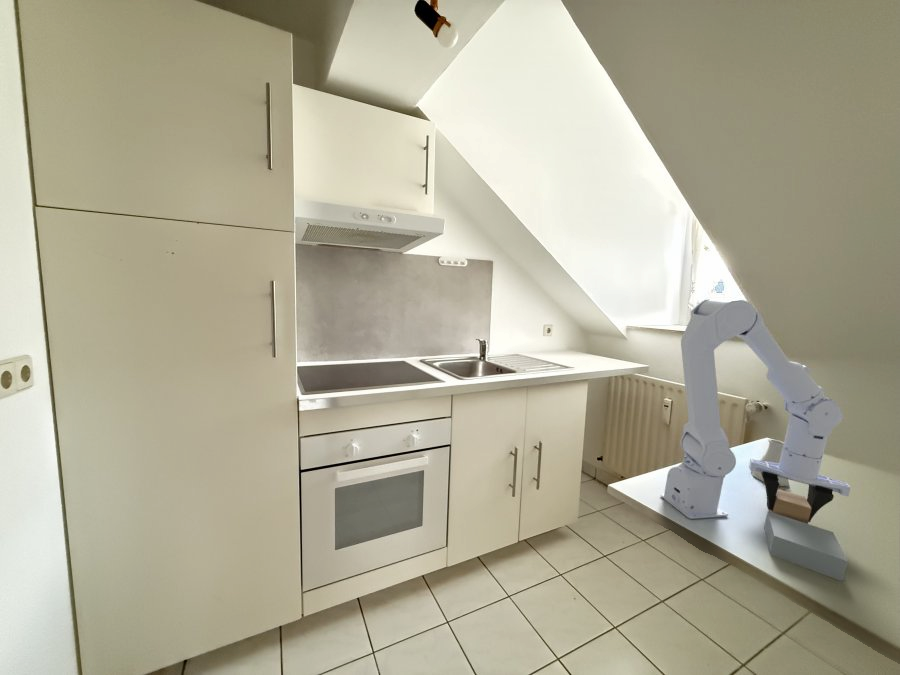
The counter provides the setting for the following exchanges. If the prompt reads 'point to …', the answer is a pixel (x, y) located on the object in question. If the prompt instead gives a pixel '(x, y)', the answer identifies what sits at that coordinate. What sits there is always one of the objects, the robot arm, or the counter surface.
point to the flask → (772, 460)
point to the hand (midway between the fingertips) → (787, 513)
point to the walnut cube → (792, 506)
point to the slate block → (805, 545)
